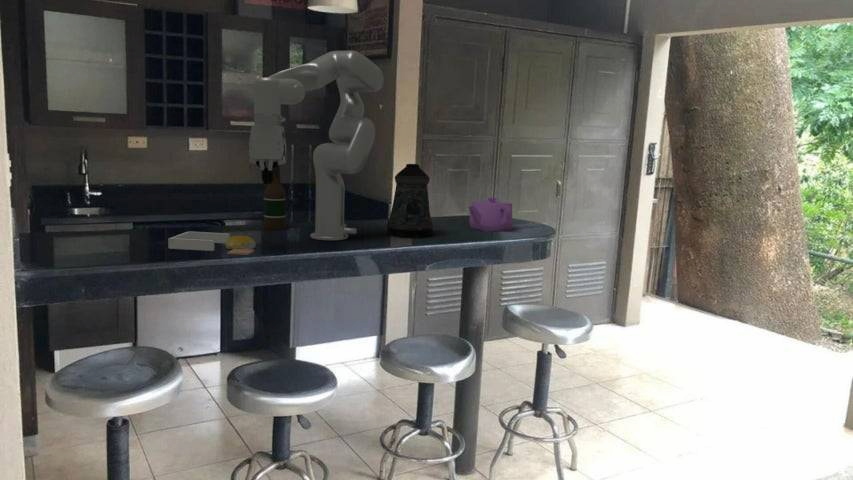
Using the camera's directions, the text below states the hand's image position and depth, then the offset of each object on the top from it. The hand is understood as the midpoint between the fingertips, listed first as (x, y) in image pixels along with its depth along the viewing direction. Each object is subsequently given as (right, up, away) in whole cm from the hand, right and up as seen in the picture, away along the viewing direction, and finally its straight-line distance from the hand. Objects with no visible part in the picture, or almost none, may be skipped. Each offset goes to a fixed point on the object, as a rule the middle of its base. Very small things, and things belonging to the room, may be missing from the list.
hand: (267, 183), depth 207 cm
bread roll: (-9, -19, +5) cm, 22 cm away
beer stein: (+41, -15, +44) cm, 62 cm away
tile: (-7, -20, -3) cm, 22 cm away
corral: (-22, -18, +6) cm, 29 cm away
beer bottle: (-7, -13, +44) cm, 47 cm away
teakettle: (+71, -12, +66) cm, 98 cm away
